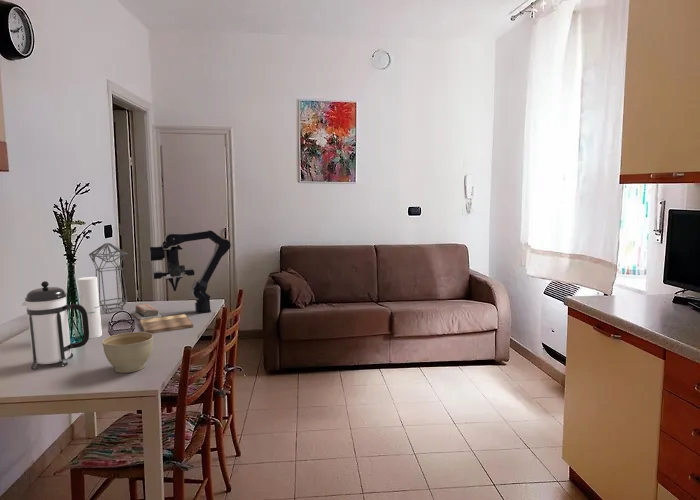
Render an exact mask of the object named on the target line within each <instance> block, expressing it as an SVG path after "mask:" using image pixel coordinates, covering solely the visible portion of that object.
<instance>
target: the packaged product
mask: <svg viewBox="0 0 700 500" xmlns="http://www.w3.org/2000/svg"><path fill="white" fill-rule="evenodd" d="M131 313H132V315H133V316H134V317H136V319H138V320H144V319H152V318H159V317H163V315H161V314H160V313H159V310H158V309H156V307H153V306H152V305H150V304H148V303H144V304H142V303H141V304H137V305H135V310H134V311H131Z"/></svg>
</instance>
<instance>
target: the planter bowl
mask: <svg viewBox="0 0 700 500" xmlns="http://www.w3.org/2000/svg"><path fill="white" fill-rule="evenodd" d="M101 344H102V346H103V352H104V355H105V357H106V359H107V361H108V362H109V363H110V365H111V366H112V367H113V368H114V372H117V373H125V374H126V373H134V372H138V371H140V370H143V369H144V368H145V367H146V363H147V362H148V360H149V358H150V356H151V354H152V352H153V348H154V347H153V346H154V333H147V332H144V331H132V332H124V333H118V334H114V335H110V336H108V337H106V338H103V340H102V342H101Z"/></svg>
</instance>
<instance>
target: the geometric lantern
mask: <svg viewBox="0 0 700 500" xmlns="http://www.w3.org/2000/svg"><path fill="white" fill-rule="evenodd" d="M110 247H111V248H112V249H113V250H114V251H111V248H110ZM117 253H119V254H117ZM126 255H129V254H128V253H127V252H126V251H124V250H123V249H121V248H119V247H117V246H116V245H113V243H110V242H106V243H103V244H102V245H101V246H98V248H96V249H95V250H93V251H92V252H90V253H88V256H89V257H90V259H91V261H92V263H93V265H94V268H95V277H97V278H98V294H99V306H100V307H101V310H102V311H103V312H104V313H106V314H112V313H118V312H117V311H118V310H115V311H110V310H112V309H120V310H123V311H124V306H125V305H127V303H128V298H127V290H126V284H125V278H124V268H123V267H122V262H123V260H124V259H125V258H126V257H125V256H126ZM114 257H116V258H114ZM96 258H98V259H99V260H101V263H100V265H98V264H97V262H96ZM111 258H112V260H111ZM119 258H120V262H119V265H118V264H117V262H116V260H118V259H119ZM103 262H105V263H104V265H103V266H102V264H103ZM108 263H111V264H112V265H113V266H108V267H105V266H106V264H108ZM112 268H115V277H116V278H115V279H116V289H117V292H116V293H117V294H116V295H117V298H110V299H106V297H105V288H104V287H105V286H104V278H103V272H110V271H112V272H113V271H114V269H112ZM105 269H107V270H105ZM121 275H122V277H121ZM118 277H119V279H118ZM118 280H119V281H118ZM118 282H119V283H118ZM122 282H123V283H122ZM101 284H102V294H103V300H101ZM119 284H120V289H121V297H119ZM124 296H125V297H124ZM114 300H117V301H116V302H115V303H108V304H106V302H109V301H114ZM119 300H121V301H120V302H119ZM102 302H103V303H102ZM111 306H115V307H111Z"/></svg>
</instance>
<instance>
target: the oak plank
mask: <svg viewBox="0 0 700 500" xmlns="http://www.w3.org/2000/svg"><path fill="white" fill-rule="evenodd" d="M186 317H188V316H187V314H185V313H183V314H175V315H167V316H162V317H159V318H152V319H144V320H140V321H139V322H140V325H141V326H142V323H148V322H156V321H163V320H171V319H178V318H186Z"/></svg>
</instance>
